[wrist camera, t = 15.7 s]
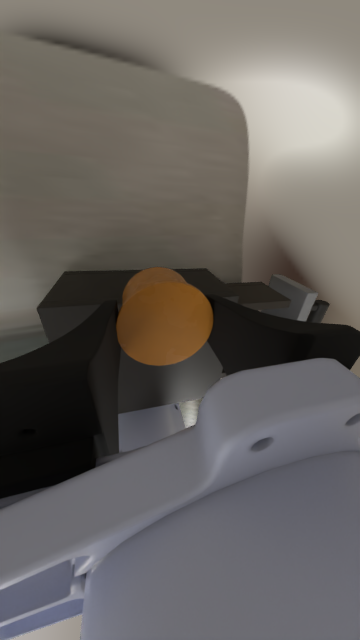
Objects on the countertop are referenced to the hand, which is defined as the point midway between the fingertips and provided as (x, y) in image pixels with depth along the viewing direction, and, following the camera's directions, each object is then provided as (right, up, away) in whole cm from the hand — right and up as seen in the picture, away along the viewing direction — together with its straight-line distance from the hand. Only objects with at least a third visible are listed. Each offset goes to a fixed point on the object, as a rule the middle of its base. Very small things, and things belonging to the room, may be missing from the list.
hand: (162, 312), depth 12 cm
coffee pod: (0, +1, +1) cm, 2 cm away
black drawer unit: (-3, -1, +11) cm, 11 cm away
